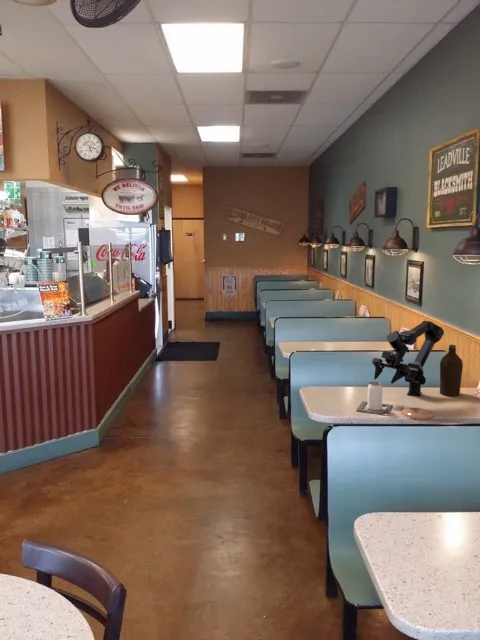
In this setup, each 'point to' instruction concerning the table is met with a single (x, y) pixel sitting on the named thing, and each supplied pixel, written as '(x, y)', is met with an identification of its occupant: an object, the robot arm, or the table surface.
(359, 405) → the gray square frame
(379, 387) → the can
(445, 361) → the olive oil
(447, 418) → the table surface
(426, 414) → the plate
